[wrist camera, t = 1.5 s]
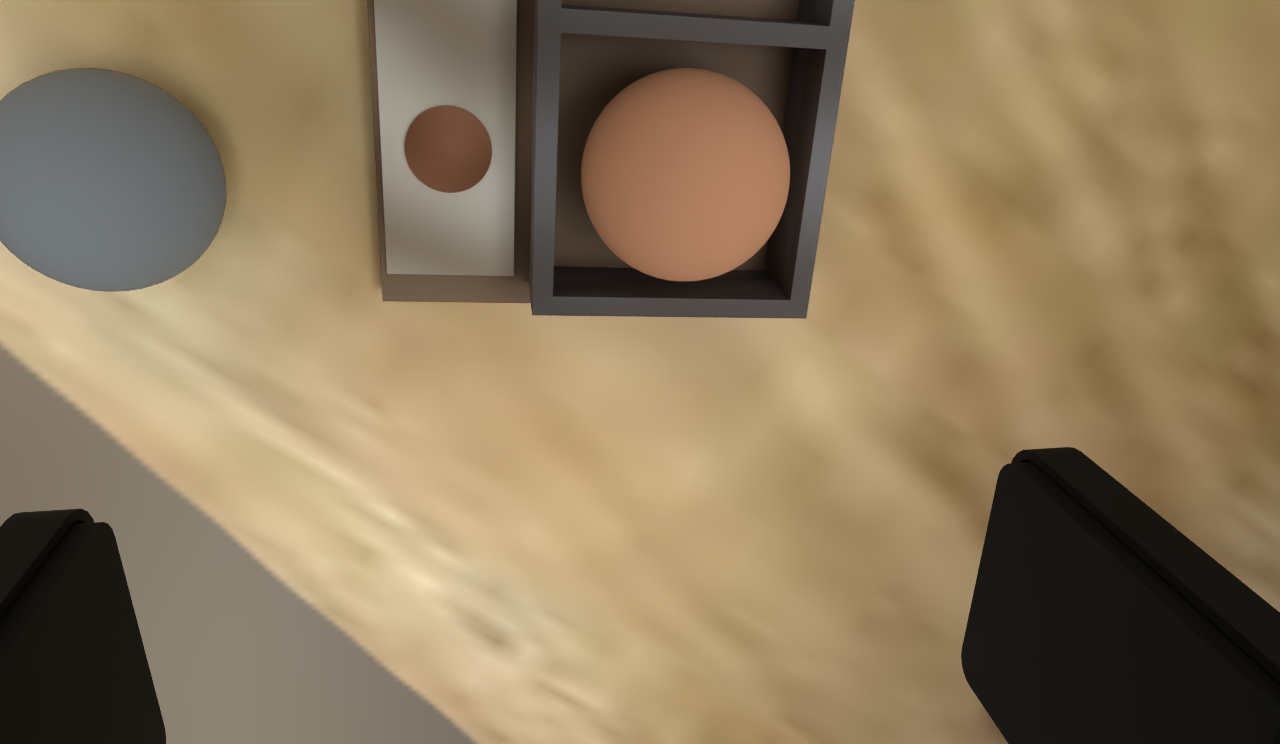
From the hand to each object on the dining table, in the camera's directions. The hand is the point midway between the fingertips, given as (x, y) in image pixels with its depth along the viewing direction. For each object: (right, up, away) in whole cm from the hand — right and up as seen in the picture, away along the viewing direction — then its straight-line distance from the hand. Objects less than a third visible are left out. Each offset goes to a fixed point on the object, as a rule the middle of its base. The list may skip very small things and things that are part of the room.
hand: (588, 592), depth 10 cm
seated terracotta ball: (+2, +8, +16) cm, 18 cm away
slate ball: (-14, +8, +15) cm, 22 cm away
